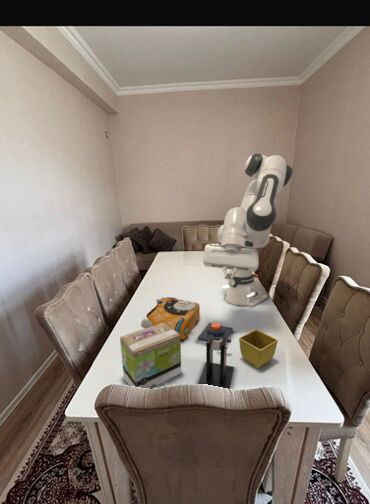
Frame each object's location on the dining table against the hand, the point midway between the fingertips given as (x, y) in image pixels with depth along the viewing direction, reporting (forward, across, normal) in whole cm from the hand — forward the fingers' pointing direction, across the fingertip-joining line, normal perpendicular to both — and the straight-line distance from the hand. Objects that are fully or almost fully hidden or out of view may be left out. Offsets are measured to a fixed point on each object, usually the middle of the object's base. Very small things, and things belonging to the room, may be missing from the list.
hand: (228, 278), depth 91 cm
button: (+16, -3, +12) cm, 20 cm away
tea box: (+37, -19, -4) cm, 42 cm away
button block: (+19, -2, +14) cm, 24 cm away
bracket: (+34, 0, -3) cm, 34 cm away
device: (+15, -22, +22) cm, 34 cm away
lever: (+25, 0, -5) cm, 25 cm away
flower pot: (+27, +12, +4) cm, 30 cm away
